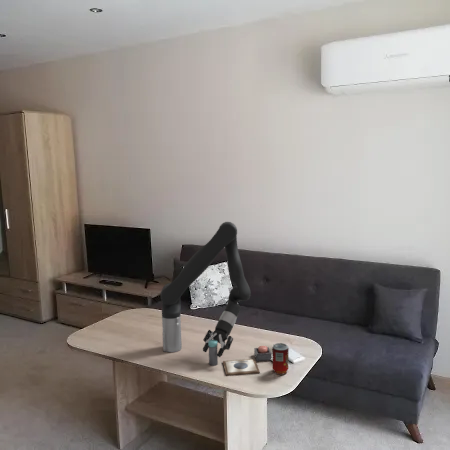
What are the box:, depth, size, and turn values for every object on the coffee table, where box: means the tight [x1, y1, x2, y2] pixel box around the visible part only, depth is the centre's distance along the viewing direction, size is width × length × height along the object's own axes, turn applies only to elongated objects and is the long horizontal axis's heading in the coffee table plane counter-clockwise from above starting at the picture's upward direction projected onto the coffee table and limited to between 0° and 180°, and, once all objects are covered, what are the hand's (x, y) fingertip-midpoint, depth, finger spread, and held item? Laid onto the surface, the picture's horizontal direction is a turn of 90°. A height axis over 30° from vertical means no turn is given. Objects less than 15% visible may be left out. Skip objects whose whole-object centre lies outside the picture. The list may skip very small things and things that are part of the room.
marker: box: [208, 339, 219, 367], centre depth 207 cm, size 4×4×11 cm
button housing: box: [253, 346, 273, 362], centre depth 213 cm, size 7×7×4 cm
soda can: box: [272, 342, 290, 375], centre depth 199 cm, size 7×7×12 cm
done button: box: [257, 345, 268, 353], centre depth 213 cm, size 4×4×2 cm
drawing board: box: [222, 358, 261, 377], centre depth 203 cm, size 15×13×1 cm
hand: (211, 354), depth 206 cm, fingers open, 8 cm apart
